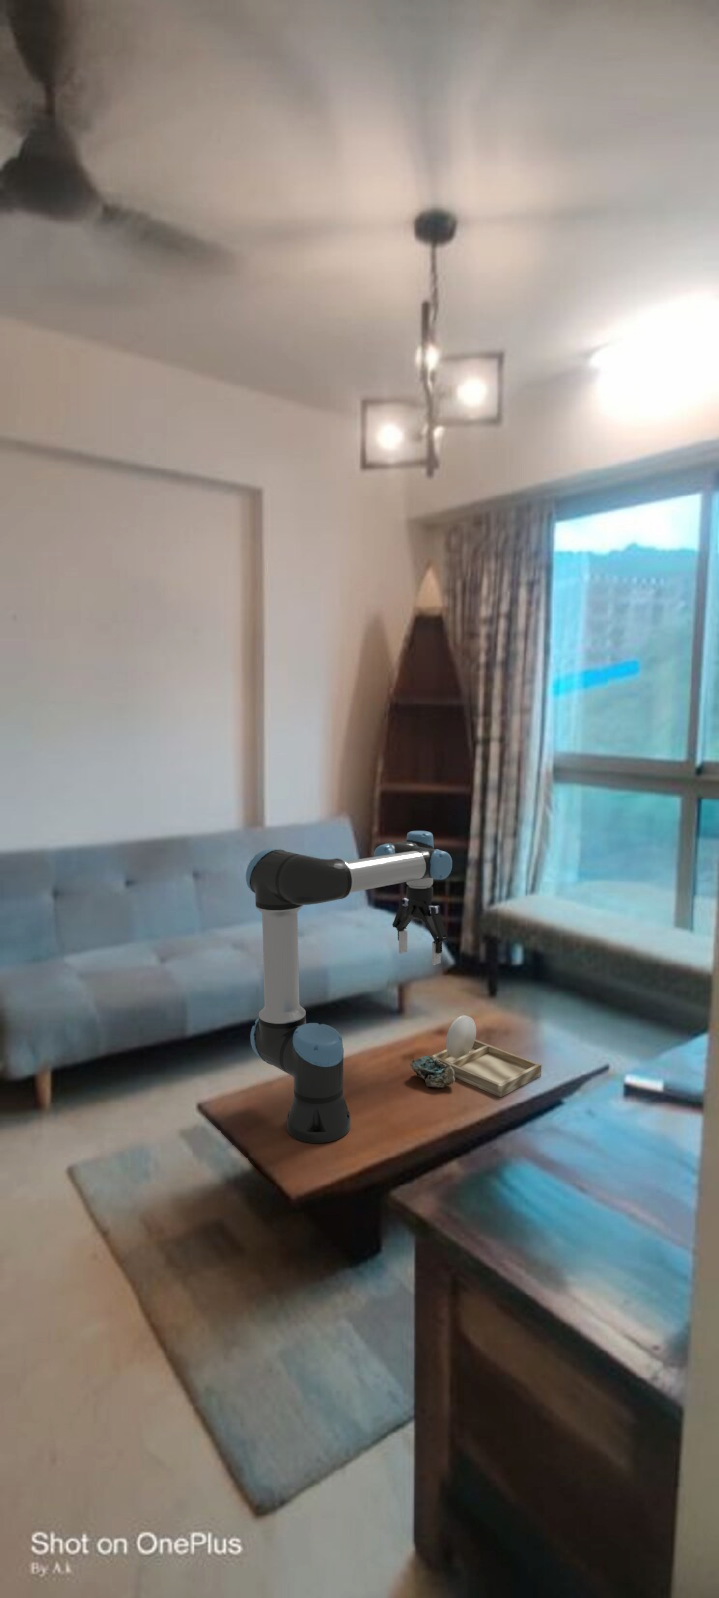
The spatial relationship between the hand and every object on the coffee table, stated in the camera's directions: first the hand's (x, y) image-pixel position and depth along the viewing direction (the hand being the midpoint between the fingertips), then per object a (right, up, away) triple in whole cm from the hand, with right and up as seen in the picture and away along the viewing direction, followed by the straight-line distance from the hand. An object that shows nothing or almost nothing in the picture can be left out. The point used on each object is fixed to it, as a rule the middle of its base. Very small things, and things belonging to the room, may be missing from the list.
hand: (419, 958), depth 227 cm
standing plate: (+11, -28, -4) cm, 31 cm away
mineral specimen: (+3, -30, -17) cm, 35 cm away
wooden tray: (+17, -29, -10) cm, 35 cm away
